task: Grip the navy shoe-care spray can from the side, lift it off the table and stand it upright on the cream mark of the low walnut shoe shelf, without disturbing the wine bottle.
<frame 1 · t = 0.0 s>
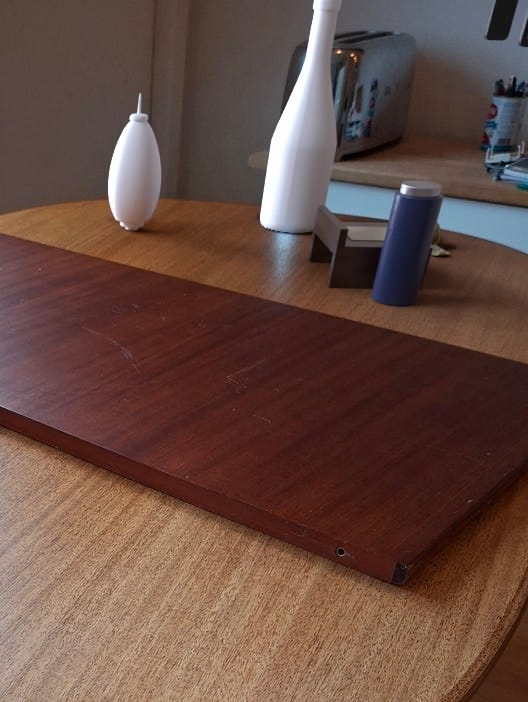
hand: (511, 43, 85), 27 cm above the table, tool pointing down, fingers open, 8 cm apart
air blower bulb: (131, 230, 136), on the table
spray can: (393, 299, 109), on the table
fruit: (414, 251, 128), on the table
shoe shelf: (362, 273, 118), on the table
wine bottle: (289, 228, 138), on the table
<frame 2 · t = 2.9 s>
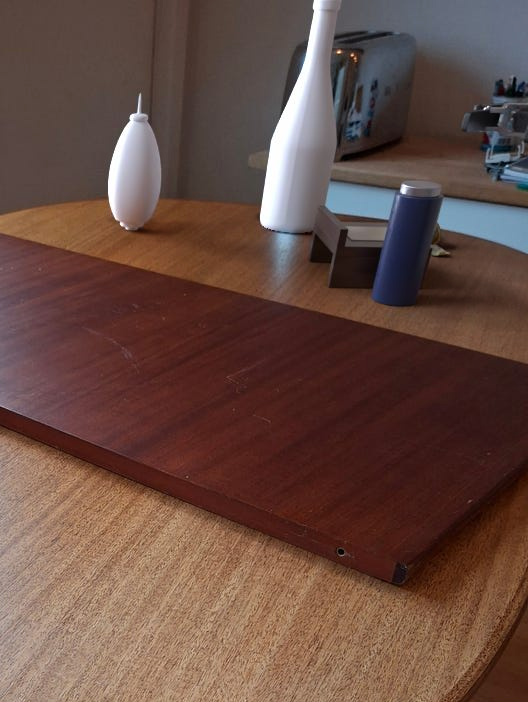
hand: (496, 127, 103), 18 cm above the table, tool horizontal, fingers open, 8 cm apart
nothing on the table moved.
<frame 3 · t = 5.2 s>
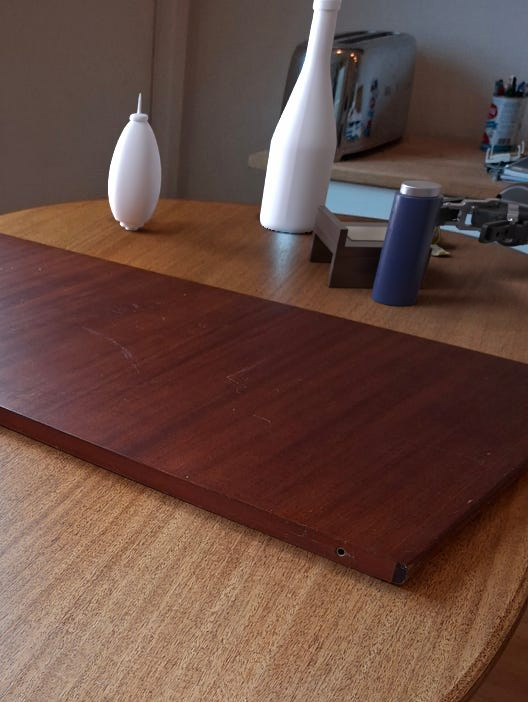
hand: (453, 226, 108), 8 cm above the table, tool horizontal, fingers open, 8 cm apart
nothing on the table moved.
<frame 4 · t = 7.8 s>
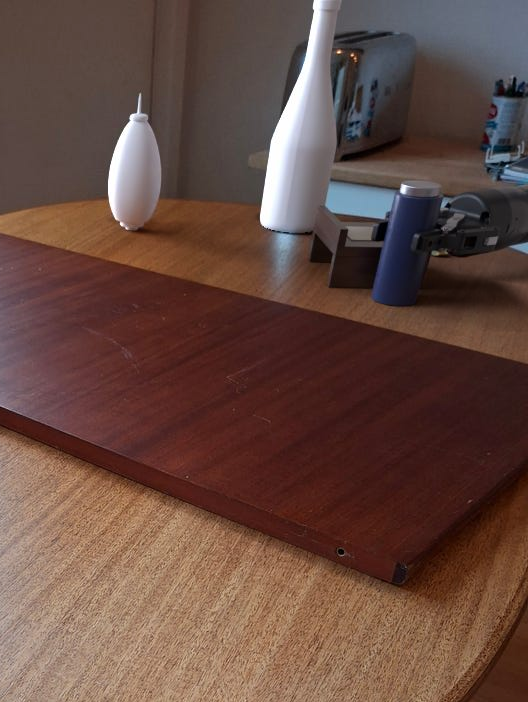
hand: (394, 237, 104), 8 cm above the table, tool horizontal, fingers closed on spray can, 5 cm apart
spray can: (393, 299, 109), on the table, touching gripper
everything else where it was.
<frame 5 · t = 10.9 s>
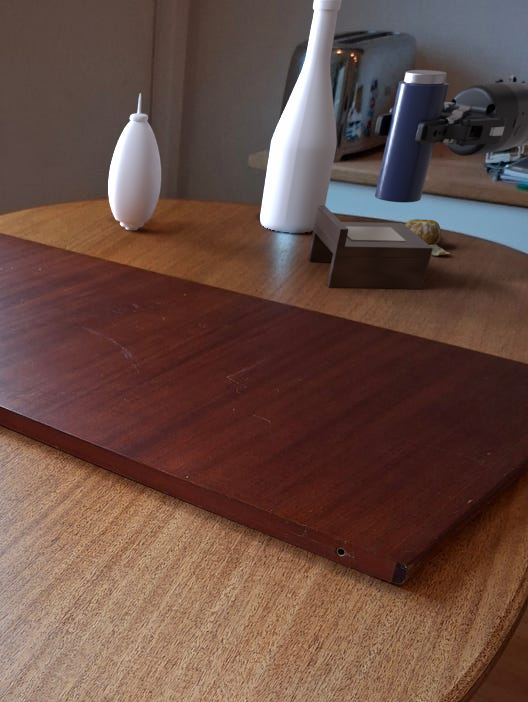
hand: (399, 129, 102), 18 cm above the table, tool horizontal, fingers closed on spray can, 5 cm apart
spray can: (397, 197, 108), point 10 cm above the table, touching gripper
everything else where it was.
when the fingers open (13 cm above the table, at t = 13.8 s): spray can stays where it is, resting on shoe shelf.
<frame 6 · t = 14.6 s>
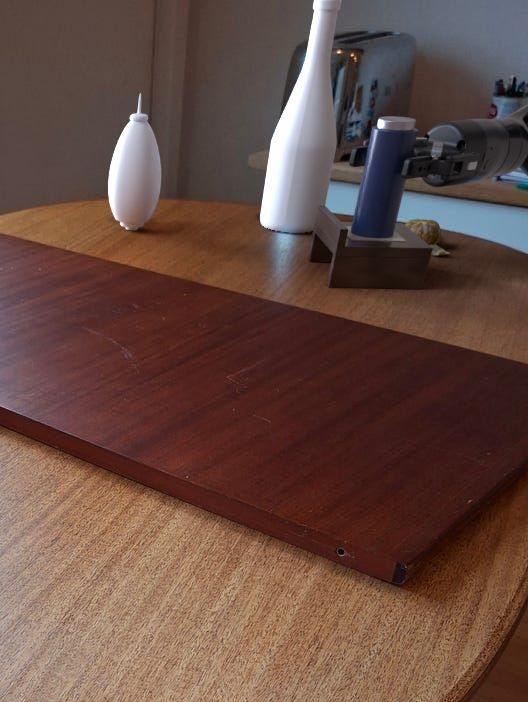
hand: (378, 163, 109), 13 cm above the table, tool horizontal, fingers open, 8 cm apart
spray can: (371, 233, 115), point 5 cm above the table, touching shoe shelf
everything else where it was.
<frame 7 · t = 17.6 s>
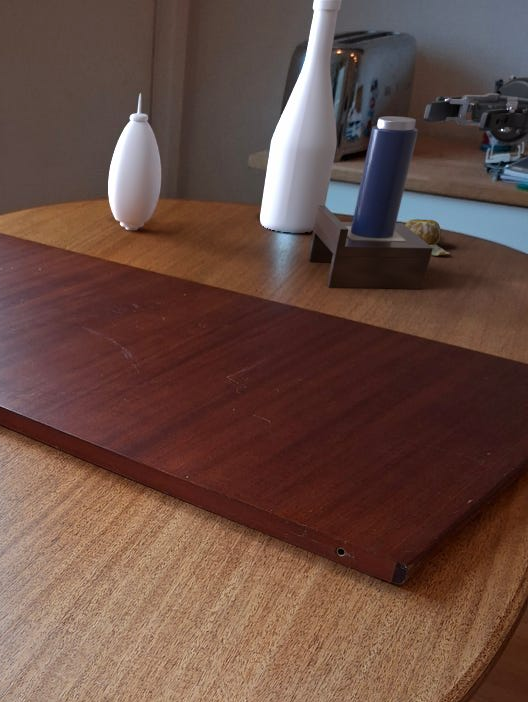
hand: (454, 116, 112), 18 cm above the table, tool horizontal, fingers open, 8 cm apart
nothing on the table moved.
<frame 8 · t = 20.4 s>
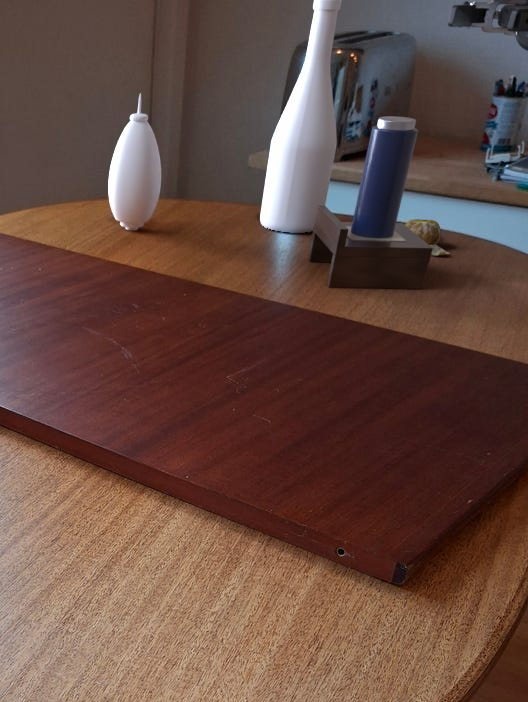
hand: (481, 18, 105), 28 cm above the table, tool horizontal, fingers open, 8 cm apart
nothing on the table moved.
at the end: spray can 0.1 cm off-centre on the shoe shelf, point 5.1 cm above the shoe shelf's base; spray can tilted 0°; wine bottle moved 0.2 cm from its start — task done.
